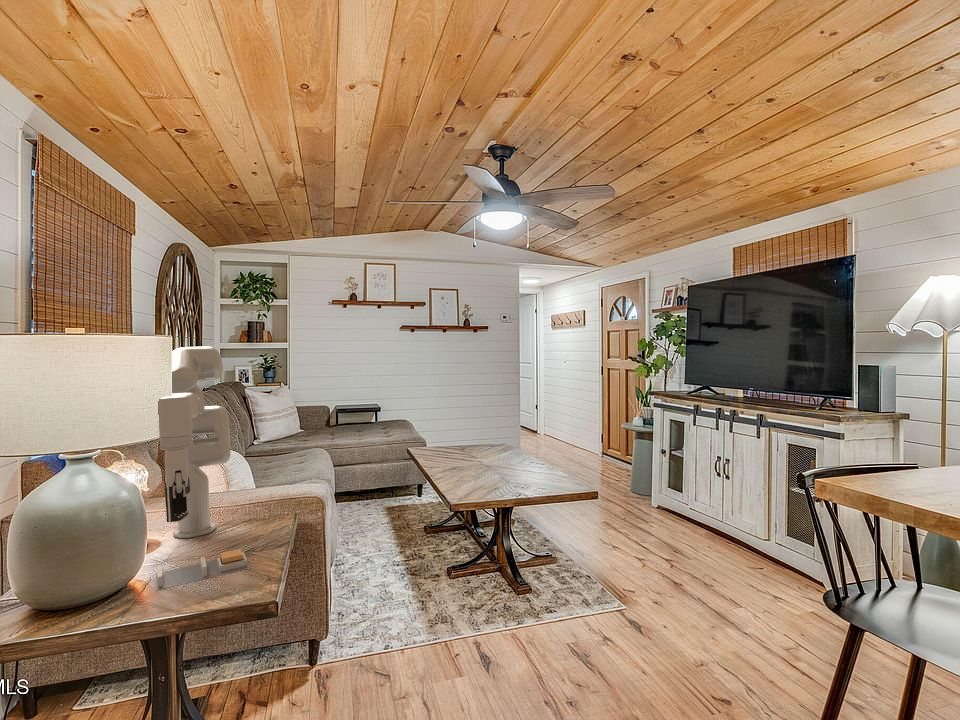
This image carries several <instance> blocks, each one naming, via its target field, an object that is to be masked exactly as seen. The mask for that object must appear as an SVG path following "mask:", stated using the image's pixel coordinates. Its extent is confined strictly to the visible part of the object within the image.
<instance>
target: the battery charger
mask: <svg viewBox="0 0 960 720" xmlns="http://www.w3.org/2000/svg"><path fill="white" fill-rule="evenodd" d="M175 478H176V475H175ZM182 485H183V483H182ZM174 486H176V483H174ZM172 487H173V485H172ZM172 487H169V488H166V481H165V483H164V495H165V496H164V497H165V509H166V511H165V512H166V513H165V514H166V522H167V523H174V522H175V523H176V522H177V523H178V521H180V520H182V519H184V518H185V517H186V516H187V515H188V512H187V511H186V512H182V513H176V514H173V507H172V498H173V488H172ZM189 492H190V482H189V477H188V484H187V485H186V486H185V495H186V494H188V493H189ZM175 496H176V493H175Z"/></svg>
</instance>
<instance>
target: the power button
mask: <svg viewBox="0 0 960 720" xmlns="http://www.w3.org/2000/svg"><path fill="white" fill-rule="evenodd" d="M220 557H221V559H222V562H223V563H226V562H231V561H235V560H239V559H243V554H242V549H241V548H238V549H233V550H229V551H223V552H221V553H220Z"/></svg>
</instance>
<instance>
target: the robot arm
mask: <svg viewBox="0 0 960 720" xmlns="http://www.w3.org/2000/svg"><path fill="white" fill-rule="evenodd" d="M171 352H172V396H165V397H162V398H160V399H159V401H158V415H159V421H158V432H159V433H158V434H159V435H158V436H159V450H161V451H164V472H165V475H164V477H165V482H166V488H169V487H172V485H173V487H172V488H173V498H172V507H173V514H176V513H182V512H186V511H187V512H188V515H187V516H186V517H185V518H184V519H182V520H180V521H177V525H178V526H177V527H178V528H176V529H174V530H173V532H172V533H173V537H175V538H179V539H188V538H196V537H200V536H204V535H207V534H209V533H212V532H213V531H214V530H215V529H216V524H215V523H214V522H211V510H210V509H211V507H210V506H211V505H210V488H209V487H210V486H209V482H210V481H209V477H208V475H207V474H206V473H205V472H204V471H203V470H202V467H208V466H209V467H210V466H218V465H223V464H226V463H228V462H229V460H230V458H231V439H230V437H231V435H230V420H229V414H228V410H227V408H226V407H224V406H222V405H207V406H206V405H205V403H204V401H205V400H204V399H205V397H204V391H203V390H202V388H201V387H200V386H199V384H198V381H210V380H211V381H213V380H214V381H215V380H219V379H220V378H221V377H222V375H223V371H224V365H223V361H222V357H221V354H220V352H219V351H218V349H216V348H215V347H213V346H185V347H178V348H176V349H174V350H172V351H171ZM206 434H207V435H209V434H213V435H215V437H214V436H213V437H204V438H203V437H200V438H193V436H196V435H199V436H200V435H206ZM175 475H176V478H175ZM188 477H189V482H190V492H189V493H188V494H186V495H185V486H186V485H187V484H188ZM174 483H176V486H174ZM182 483H183V485H182ZM175 493H176V496H175Z"/></svg>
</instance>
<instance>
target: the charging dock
mask: <svg viewBox="0 0 960 720" xmlns="http://www.w3.org/2000/svg"><path fill="white" fill-rule="evenodd" d="M242 554H243V559H239V560H235V561H231V562H226V563H223V562H222V559H221V556H219V557H217V558H216V559H215V560H211V561H206V558H205V556H201V557H199V558H200V560H199V562H200V563H197V564H193V565H188V566H184V567H180V568H176V569H175V568H174V569H171V570H166V571H163V565H158V566H157V573H155V591H160V590H161V591H162V590H165V589H169V588H174V587H178V586H181V585H185V584H190V583H195V582H198V581H203V580H208V579H211V578H216V577H220V576H221V577H222V576H225V575H229V574H232V573H233V574H234V573H236V572H241V571H245V570H249V569H252V567H251V565H250V563H249V560H248V559H247V555H246V554H245V552H244V551H243V552H242Z"/></svg>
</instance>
